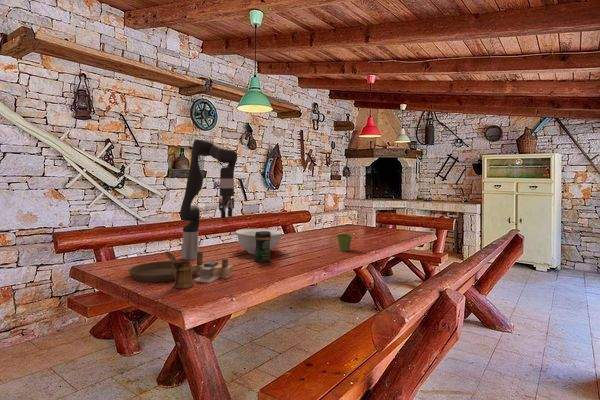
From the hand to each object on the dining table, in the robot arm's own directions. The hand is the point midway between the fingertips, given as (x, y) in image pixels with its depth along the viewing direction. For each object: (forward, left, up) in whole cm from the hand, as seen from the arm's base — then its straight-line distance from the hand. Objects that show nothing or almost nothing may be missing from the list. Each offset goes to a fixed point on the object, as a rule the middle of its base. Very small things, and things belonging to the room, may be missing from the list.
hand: (226, 217), depth 200 cm
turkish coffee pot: (-10, -30, -30) cm, 44 cm away
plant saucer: (-30, -14, -31) cm, 45 cm away
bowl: (-2, +58, -30) cm, 66 cm away
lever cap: (-4, -15, -29) cm, 33 cm away
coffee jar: (+9, +34, -30) cm, 46 cm away
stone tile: (-4, -15, -30) cm, 34 cm away
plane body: (-5, -6, -30) cm, 31 cm away
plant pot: (+54, +84, -30) cm, 104 cm away
